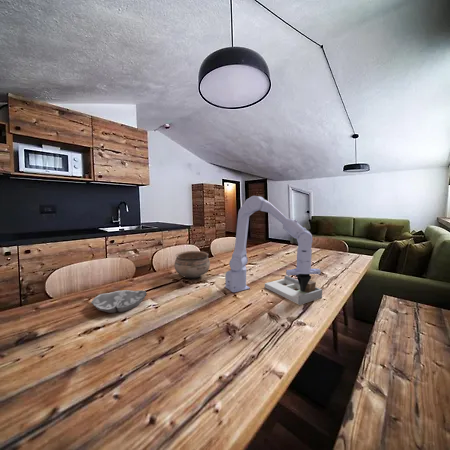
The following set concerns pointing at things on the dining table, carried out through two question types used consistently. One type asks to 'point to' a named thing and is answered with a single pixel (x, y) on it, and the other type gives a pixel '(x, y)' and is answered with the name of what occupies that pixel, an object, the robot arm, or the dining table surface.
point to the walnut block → (310, 286)
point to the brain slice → (118, 300)
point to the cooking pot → (192, 264)
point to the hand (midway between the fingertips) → (302, 291)
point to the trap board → (292, 294)
